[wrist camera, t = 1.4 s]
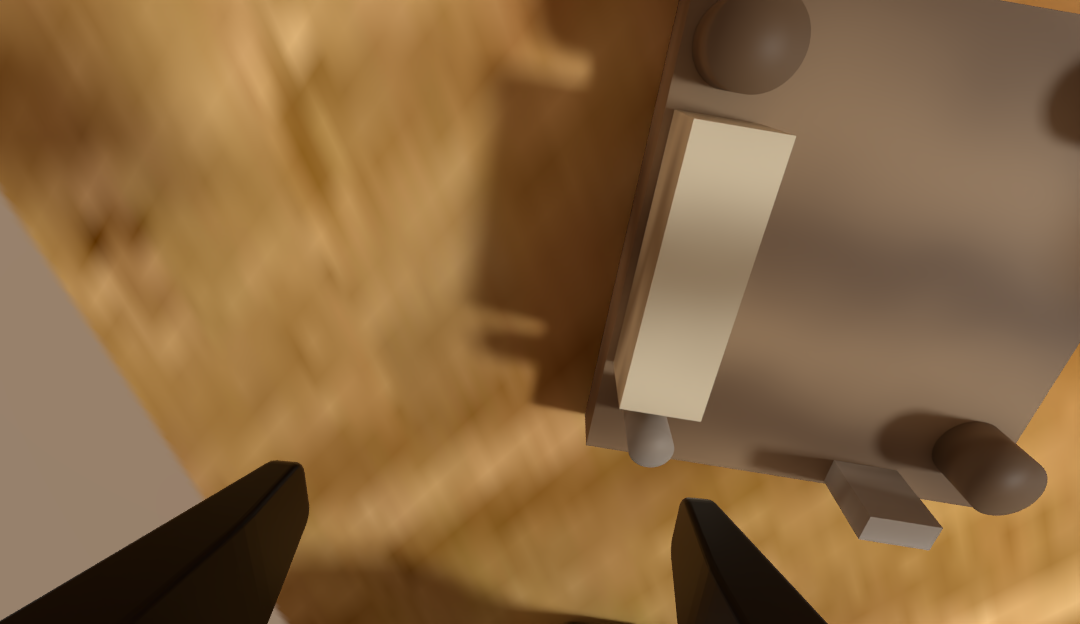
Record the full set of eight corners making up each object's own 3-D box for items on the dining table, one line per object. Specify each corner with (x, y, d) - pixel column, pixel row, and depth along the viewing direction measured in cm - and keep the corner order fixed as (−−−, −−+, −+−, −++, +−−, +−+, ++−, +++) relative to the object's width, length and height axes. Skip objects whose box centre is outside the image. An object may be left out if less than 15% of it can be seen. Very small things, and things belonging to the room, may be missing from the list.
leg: (684, 374, 19) (701, 421, 17) (613, 362, 19) (619, 408, 17) (760, 123, 16) (796, 135, 13) (674, 109, 16) (693, 118, 13)
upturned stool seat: (943, 472, 23) (1034, 573, 18) (585, 414, 23) (587, 502, 18) (1189, 48, 16) (1426, 43, 12) (688, -39, 16) (733, -79, 12)
